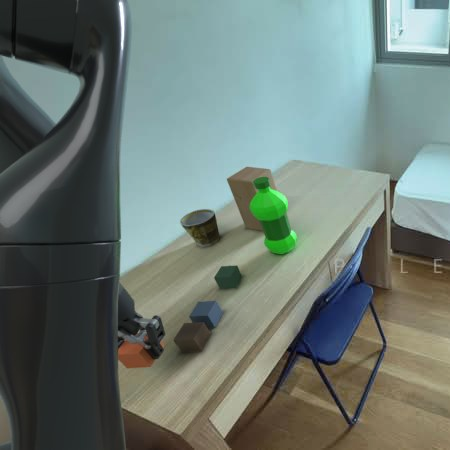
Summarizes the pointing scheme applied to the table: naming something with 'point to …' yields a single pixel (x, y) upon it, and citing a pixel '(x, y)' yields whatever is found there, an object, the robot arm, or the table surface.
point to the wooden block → (248, 192)
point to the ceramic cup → (201, 226)
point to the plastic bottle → (272, 217)
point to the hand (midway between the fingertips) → (145, 355)
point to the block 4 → (228, 277)
